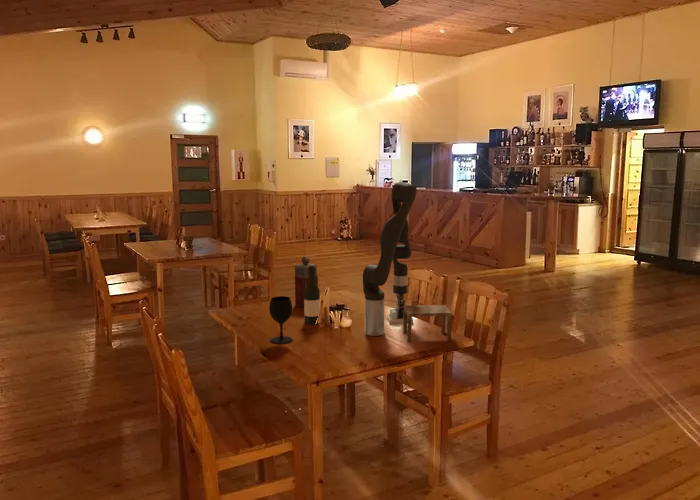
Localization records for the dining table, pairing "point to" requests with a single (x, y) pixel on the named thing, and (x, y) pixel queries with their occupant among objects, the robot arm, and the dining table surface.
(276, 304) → the wine glass
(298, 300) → the pepper mill
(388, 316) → the tray
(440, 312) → the counter shelf
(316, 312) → the wine bottle
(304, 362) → the dining table surface
